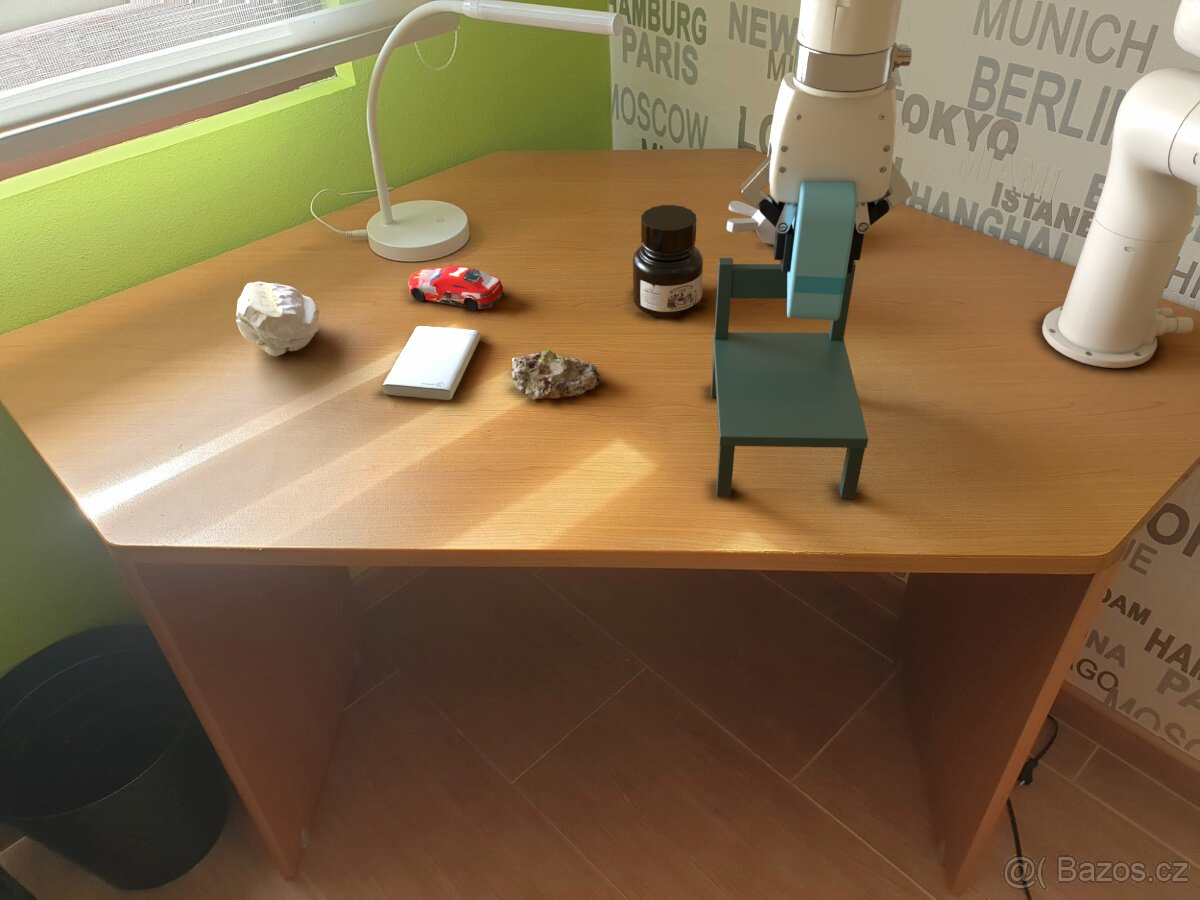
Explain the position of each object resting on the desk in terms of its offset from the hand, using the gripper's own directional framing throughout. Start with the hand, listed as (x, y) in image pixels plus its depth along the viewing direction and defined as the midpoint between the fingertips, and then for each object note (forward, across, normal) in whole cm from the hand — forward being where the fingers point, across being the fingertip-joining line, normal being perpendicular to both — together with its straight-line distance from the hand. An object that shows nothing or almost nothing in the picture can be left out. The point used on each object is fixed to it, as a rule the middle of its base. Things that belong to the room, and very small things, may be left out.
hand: (815, 264), depth 88 cm
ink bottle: (+22, +13, -29) cm, 39 cm away
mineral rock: (+22, +26, -11) cm, 36 cm away
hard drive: (+22, +41, -14) cm, 49 cm away
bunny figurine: (+22, -3, -46) cm, 51 cm away
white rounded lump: (+22, +61, -19) cm, 68 cm away
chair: (+22, +1, -1) cm, 22 cm away
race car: (+22, +41, -30) cm, 56 cm away
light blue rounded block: (+3, 0, 0) cm, 3 cm away
